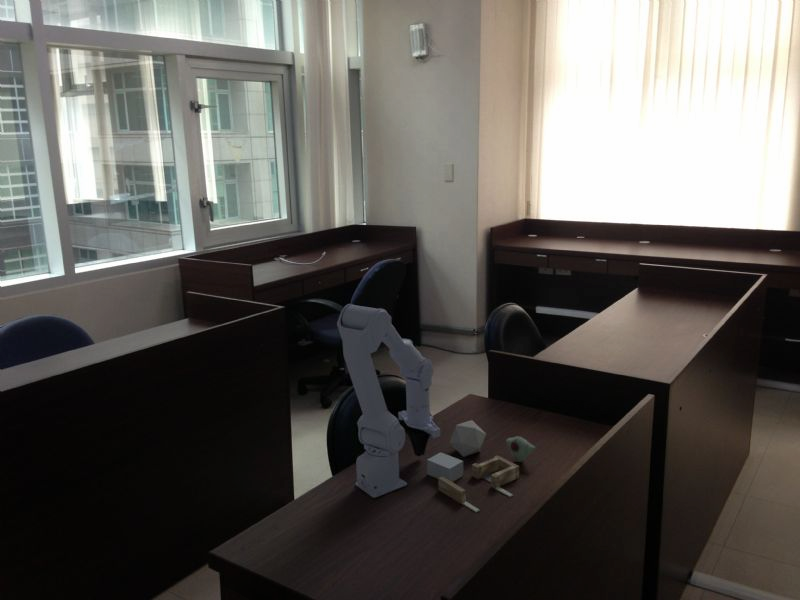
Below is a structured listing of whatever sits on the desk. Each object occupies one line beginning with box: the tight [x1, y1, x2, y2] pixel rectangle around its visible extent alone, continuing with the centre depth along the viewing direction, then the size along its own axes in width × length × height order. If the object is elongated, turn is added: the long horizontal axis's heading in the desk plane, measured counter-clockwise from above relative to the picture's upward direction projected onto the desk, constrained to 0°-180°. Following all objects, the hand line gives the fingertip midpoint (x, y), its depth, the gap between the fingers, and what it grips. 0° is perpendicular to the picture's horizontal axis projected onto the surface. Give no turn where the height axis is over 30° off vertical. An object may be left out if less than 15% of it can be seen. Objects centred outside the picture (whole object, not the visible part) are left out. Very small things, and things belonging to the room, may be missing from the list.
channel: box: [437, 454, 520, 505], centre depth 157 cm, size 18×8×3 cm, turn 126°
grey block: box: [426, 452, 464, 483], centre depth 162 cm, size 5×7×4 cm
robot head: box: [506, 435, 537, 463], centre depth 167 cm, size 8×4×7 cm, turn 46°
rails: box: [461, 486, 514, 513], centre depth 151 cm, size 11×4×1 cm, turn 126°
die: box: [449, 419, 487, 458], centre depth 173 cm, size 8×9×10 cm
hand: (419, 454), depth 170 cm, fingers closed
